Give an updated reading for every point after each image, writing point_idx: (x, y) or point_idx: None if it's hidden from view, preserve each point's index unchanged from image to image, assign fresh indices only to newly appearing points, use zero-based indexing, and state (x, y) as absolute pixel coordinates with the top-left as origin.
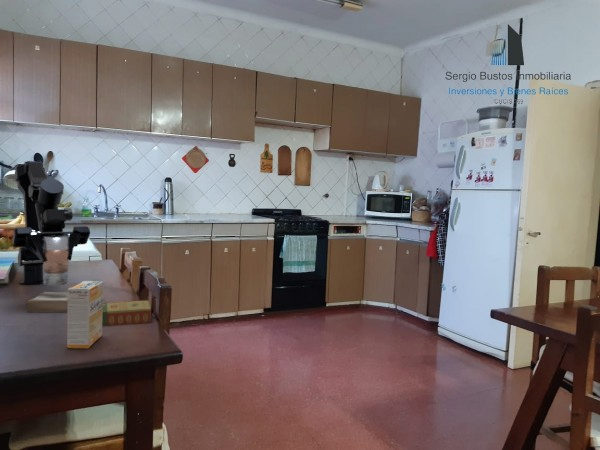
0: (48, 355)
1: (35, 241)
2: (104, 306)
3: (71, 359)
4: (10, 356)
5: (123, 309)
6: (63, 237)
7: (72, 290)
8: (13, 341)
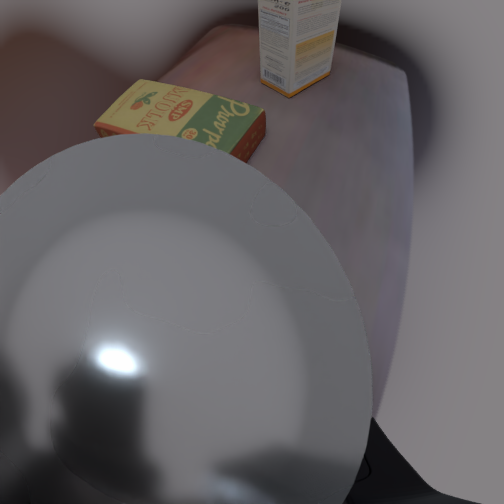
0: (357, 73)
1: (422, 498)
2: (197, 119)
3: (334, 53)
4: (403, 99)
5: (181, 89)
6: (31, 204)
7: None
8: (401, 144)
